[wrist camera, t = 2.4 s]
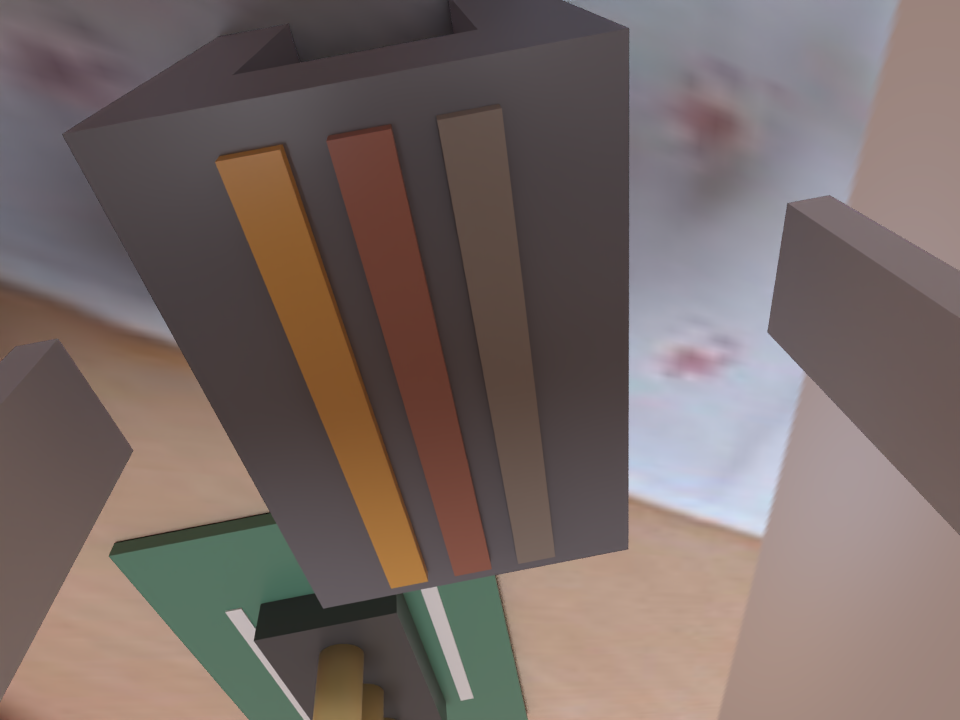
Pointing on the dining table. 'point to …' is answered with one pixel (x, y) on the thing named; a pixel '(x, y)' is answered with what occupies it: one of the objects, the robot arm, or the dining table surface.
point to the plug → (398, 283)
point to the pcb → (324, 632)
